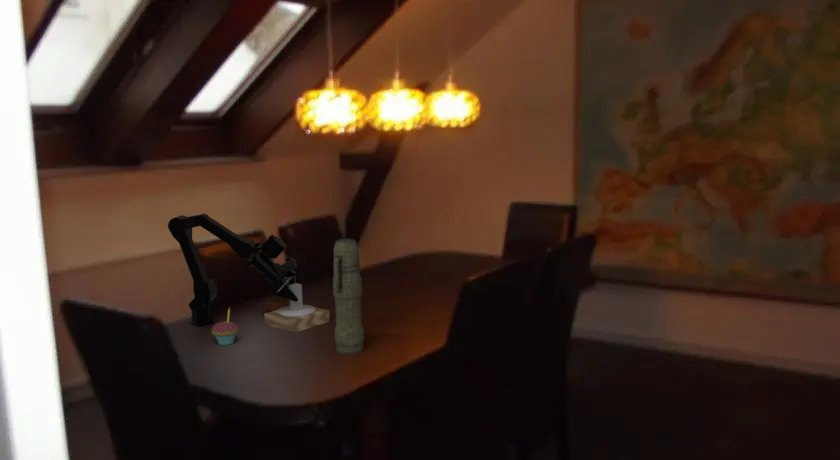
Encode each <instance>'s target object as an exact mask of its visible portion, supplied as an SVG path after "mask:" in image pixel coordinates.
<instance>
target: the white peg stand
mask: <svg viewBox="0 0 840 460" xmlns="http://www.w3.org/2000/svg"><path fill="white" fill-rule="evenodd" d="M289 286H290V289H291V291H292V292H293V293H294V294H295V295H296V297H297V298H298V299H299V300H298V301H297V302H295V301H292V300H289V301H290V302H289V306H285V307H282V308H280V309H279V310H278V314H279V315H280V316H283V317H303V316H308V315H311V314H313V313H315V308H316V307H315V306H314V305H310V304H303V295H302V293H303V287H302V284H301V283H297V282H296V283H295V284H291V285H289Z"/></svg>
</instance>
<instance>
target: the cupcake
mask: <svg viewBox="0 0 840 460" xmlns="http://www.w3.org/2000/svg"><path fill="white" fill-rule="evenodd" d="M230 313H231V307H229V308H228V309H227V317H226V318H227V320H225V321H219V322H216V323H215V324H214V325H213V326H212V327H211V335H213V336H214V337H215V338H216V341H217V342H218V343H217V344H218V345H220V346H228V345H232V344H233V343H234V341H235V337H236V334H237V333H238V332H239V328H240V327H239V325H238V324H237V323H235V322H233V321H230V315H231V314H230Z"/></svg>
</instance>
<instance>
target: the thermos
mask: <svg viewBox="0 0 840 460" xmlns="http://www.w3.org/2000/svg"><path fill="white" fill-rule="evenodd" d="M334 243H335V244H334V246H333V262H332V265H333V277H332V290H333V291H332V294H333V298H334V303H335V305H334V306H335V307H334V308H335V328H334V343H335V351H336V353H338V354H340V355H341V354H342V355H353V354H359V353H361V352H363V351H364V349H365V348H364V342H365V339H364V338H365V335H364V327H363V324H362V301H361V299H362V295H363V288H362V287H363V285H362V281H363V280H362V276H361V269H360V268H361V266H360V262H361V261H360V254H359V247H358V244H357V242H356V240H355V239H353V238H339V239H338V240H336V241H335V242H334Z"/></svg>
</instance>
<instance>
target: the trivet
mask: <svg viewBox="0 0 840 460" xmlns="http://www.w3.org/2000/svg"><path fill="white" fill-rule="evenodd" d="M263 315H264V326H269V327H273V328H276V329H279V330H283V331H287V332H291V333H292V332H293V333H298V332H301V331H304V330H308V329H310V328H314V327H317V326H320V325H323V324H326V323H329V322H330V310H328V309H325V308H324V309H323V308H318V307H315V313H313V314H311V315H308V316H303V317H283V316H280V315H279V314H278V310H276V311H272V312H269V313H265V314H263Z"/></svg>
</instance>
